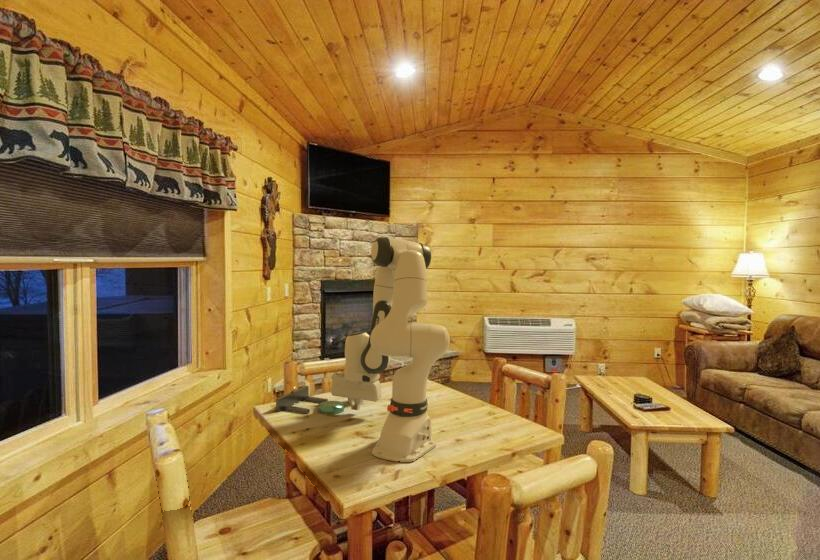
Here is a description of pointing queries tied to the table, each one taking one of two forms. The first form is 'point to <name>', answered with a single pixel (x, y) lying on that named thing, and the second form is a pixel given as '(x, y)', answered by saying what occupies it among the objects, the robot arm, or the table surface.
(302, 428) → the table surface
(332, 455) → the table surface
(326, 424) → the table surface
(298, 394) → the cradle
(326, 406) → the cover disc
